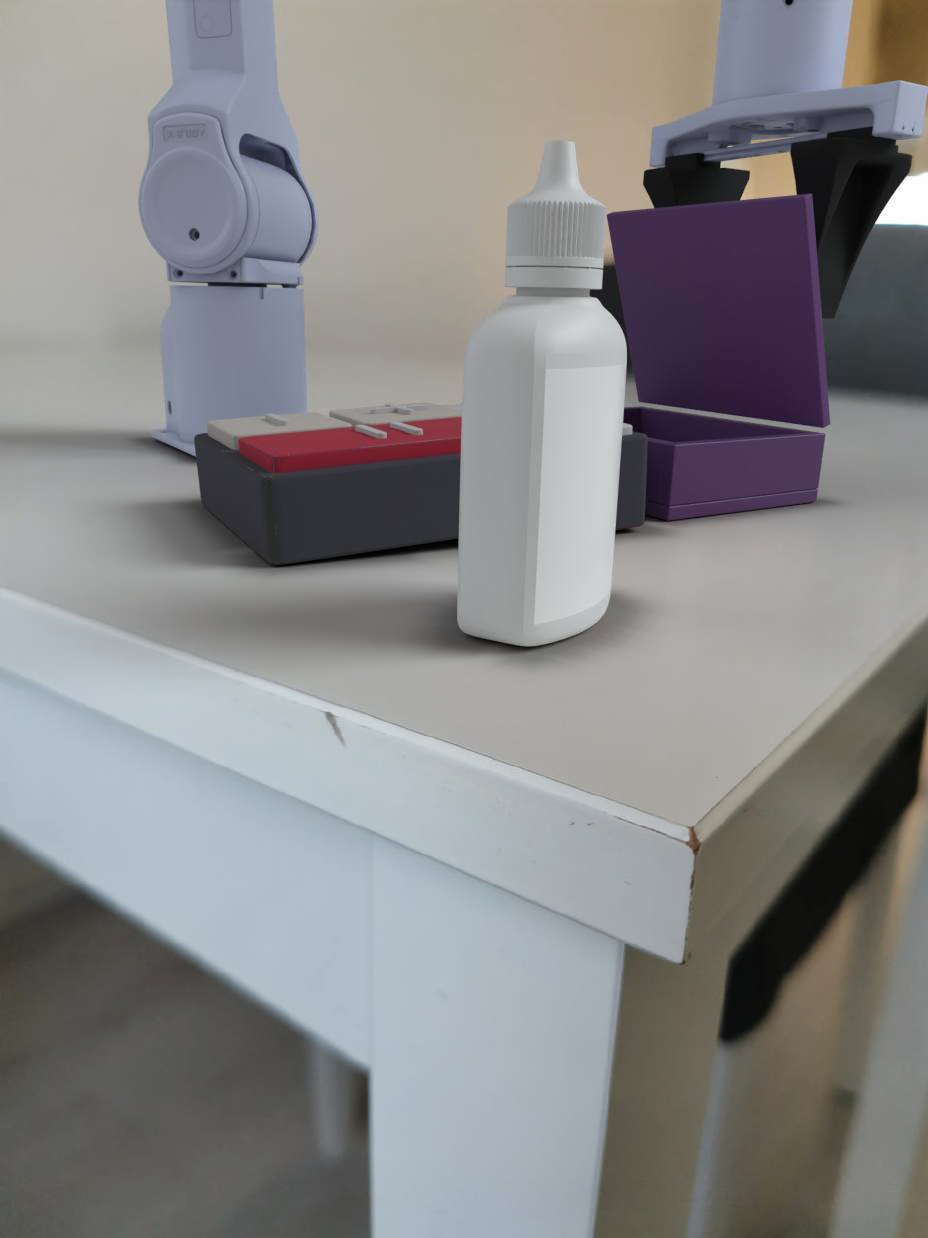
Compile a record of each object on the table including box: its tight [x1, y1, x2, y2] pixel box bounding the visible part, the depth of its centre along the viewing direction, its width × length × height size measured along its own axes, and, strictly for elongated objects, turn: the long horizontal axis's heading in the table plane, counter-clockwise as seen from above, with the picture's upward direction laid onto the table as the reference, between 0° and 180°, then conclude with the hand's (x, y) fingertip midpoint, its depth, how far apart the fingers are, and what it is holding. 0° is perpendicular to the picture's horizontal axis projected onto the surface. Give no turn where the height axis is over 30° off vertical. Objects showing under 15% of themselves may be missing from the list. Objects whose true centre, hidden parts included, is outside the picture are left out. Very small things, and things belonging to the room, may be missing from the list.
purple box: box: [623, 406, 826, 521], centre depth 46 cm, size 9×12×3 cm
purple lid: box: [606, 194, 831, 429], centre depth 47 cm, size 10×12×4 cm
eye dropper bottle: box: [456, 139, 628, 647], centre depth 25 cm, size 4×6×12 cm
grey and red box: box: [194, 402, 648, 566], centre depth 39 cm, size 11×4×15 cm
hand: (751, 316), depth 48 cm, fingers open, 7 cm apart
